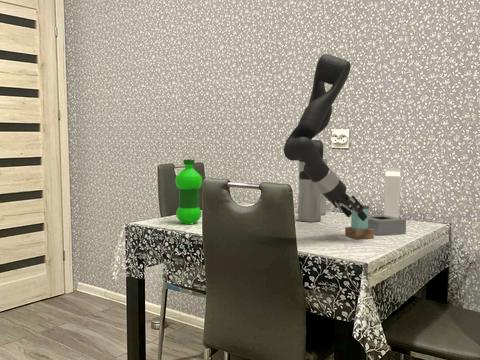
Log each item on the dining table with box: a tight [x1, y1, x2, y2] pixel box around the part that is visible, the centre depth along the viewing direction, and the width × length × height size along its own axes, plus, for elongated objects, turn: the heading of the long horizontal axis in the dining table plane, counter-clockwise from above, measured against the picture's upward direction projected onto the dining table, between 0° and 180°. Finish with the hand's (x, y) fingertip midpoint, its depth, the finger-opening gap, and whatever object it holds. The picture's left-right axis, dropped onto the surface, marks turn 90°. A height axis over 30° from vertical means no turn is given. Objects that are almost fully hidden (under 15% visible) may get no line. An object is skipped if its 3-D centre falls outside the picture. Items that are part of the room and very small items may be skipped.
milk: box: [383, 167, 402, 218], centre depth 199 cm, size 6×6×22 cm
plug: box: [350, 203, 370, 230], centre depth 162 cm, size 4×4×11 cm
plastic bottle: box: [174, 158, 203, 225], centre depth 186 cm, size 10×10×25 cm
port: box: [368, 214, 407, 237], centre depth 173 cm, size 12×12×5 cm
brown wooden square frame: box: [344, 226, 375, 240], centre depth 163 cm, size 7×7×3 cm
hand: (357, 217), depth 162 cm, fingers open, 8 cm apart
